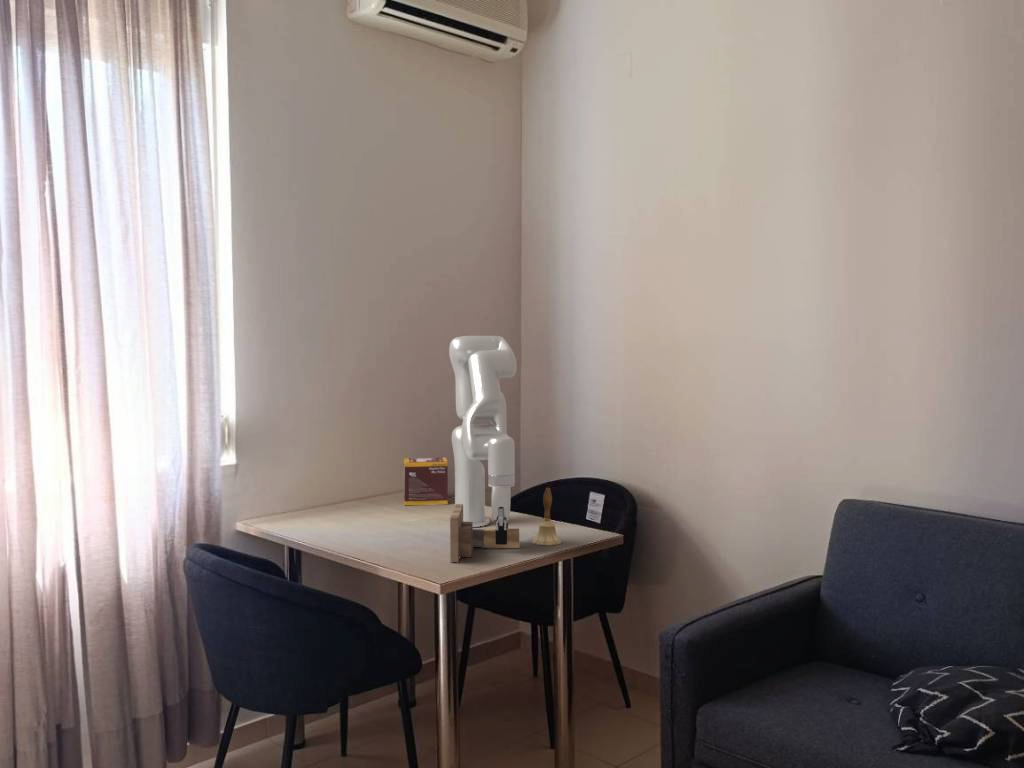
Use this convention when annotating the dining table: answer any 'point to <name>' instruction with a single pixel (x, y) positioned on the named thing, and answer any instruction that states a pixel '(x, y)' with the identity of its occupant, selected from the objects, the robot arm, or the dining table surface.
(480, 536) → the tan and gray block
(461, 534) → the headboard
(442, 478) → the supplement box
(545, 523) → the hand bell
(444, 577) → the dining table surface
